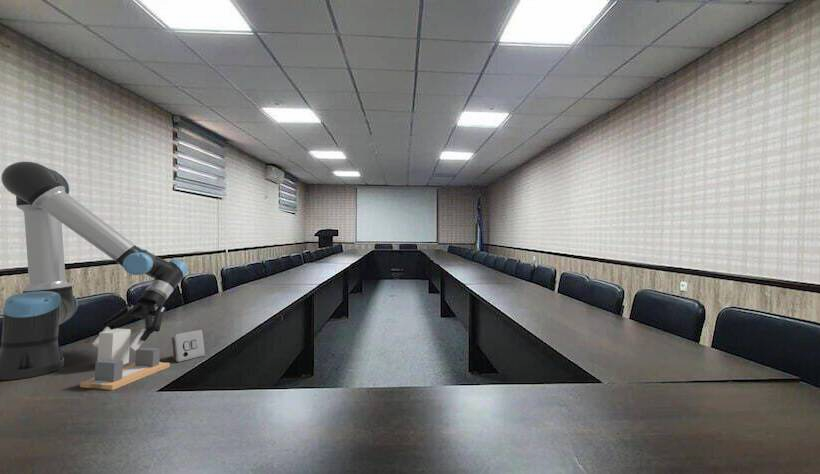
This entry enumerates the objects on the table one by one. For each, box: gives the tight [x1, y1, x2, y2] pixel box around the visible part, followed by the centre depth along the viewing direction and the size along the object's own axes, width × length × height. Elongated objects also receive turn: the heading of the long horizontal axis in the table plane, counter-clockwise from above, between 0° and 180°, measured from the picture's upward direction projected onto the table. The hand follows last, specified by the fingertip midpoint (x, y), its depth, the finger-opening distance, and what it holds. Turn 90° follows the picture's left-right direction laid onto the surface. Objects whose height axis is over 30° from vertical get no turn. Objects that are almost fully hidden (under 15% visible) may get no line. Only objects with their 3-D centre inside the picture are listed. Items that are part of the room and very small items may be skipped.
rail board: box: [79, 347, 171, 391], centre depth 103 cm, size 10×19×6 cm, turn 173°
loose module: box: [97, 327, 132, 365], centre depth 112 cm, size 5×6×11 cm
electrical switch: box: [171, 329, 206, 363], centre depth 121 cm, size 9×5×9 cm, turn 152°
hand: (113, 347), depth 112 cm, fingers open, 13 cm apart
